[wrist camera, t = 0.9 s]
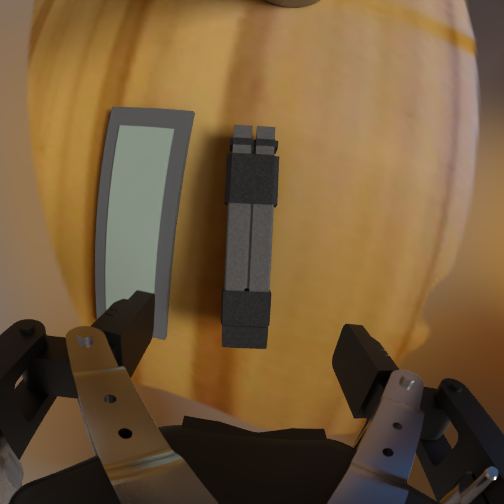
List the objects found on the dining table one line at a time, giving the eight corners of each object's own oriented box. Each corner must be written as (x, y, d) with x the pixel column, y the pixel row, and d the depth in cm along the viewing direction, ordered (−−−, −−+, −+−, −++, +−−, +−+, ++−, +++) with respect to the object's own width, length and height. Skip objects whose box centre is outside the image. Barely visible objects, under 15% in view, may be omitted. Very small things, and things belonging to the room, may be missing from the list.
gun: (224, 332, 32) (216, 355, 22) (232, 163, 34) (229, 122, 24) (263, 334, 32) (272, 358, 22) (270, 165, 34) (280, 125, 24)
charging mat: (116, 108, 26) (111, 106, 25) (194, 113, 26) (192, 110, 25) (100, 319, 32) (96, 323, 31) (166, 335, 33) (164, 340, 31)
